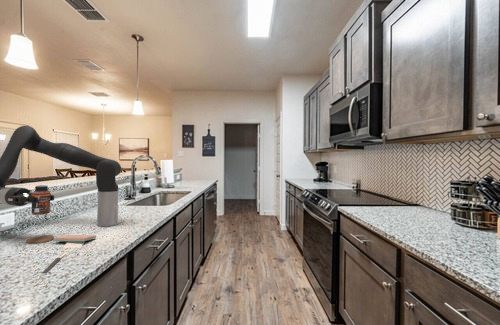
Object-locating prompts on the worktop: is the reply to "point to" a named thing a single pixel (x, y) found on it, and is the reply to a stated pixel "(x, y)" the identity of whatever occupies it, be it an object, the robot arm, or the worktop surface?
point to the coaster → (39, 239)
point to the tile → (75, 238)
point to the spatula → (67, 245)
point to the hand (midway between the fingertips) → (45, 199)
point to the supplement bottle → (41, 200)
